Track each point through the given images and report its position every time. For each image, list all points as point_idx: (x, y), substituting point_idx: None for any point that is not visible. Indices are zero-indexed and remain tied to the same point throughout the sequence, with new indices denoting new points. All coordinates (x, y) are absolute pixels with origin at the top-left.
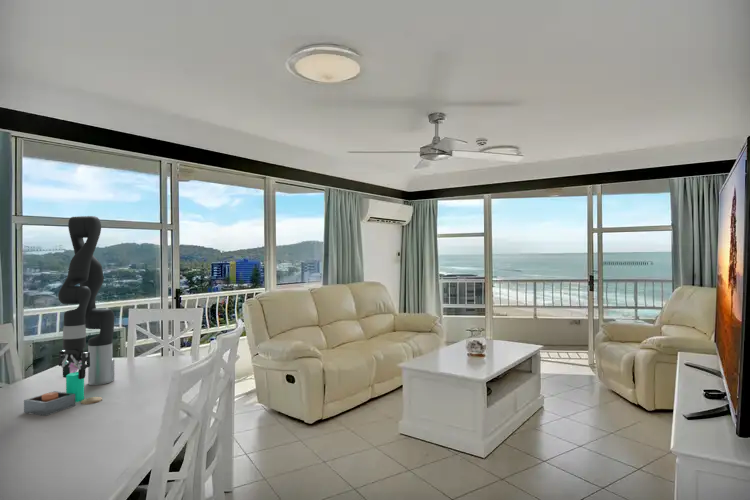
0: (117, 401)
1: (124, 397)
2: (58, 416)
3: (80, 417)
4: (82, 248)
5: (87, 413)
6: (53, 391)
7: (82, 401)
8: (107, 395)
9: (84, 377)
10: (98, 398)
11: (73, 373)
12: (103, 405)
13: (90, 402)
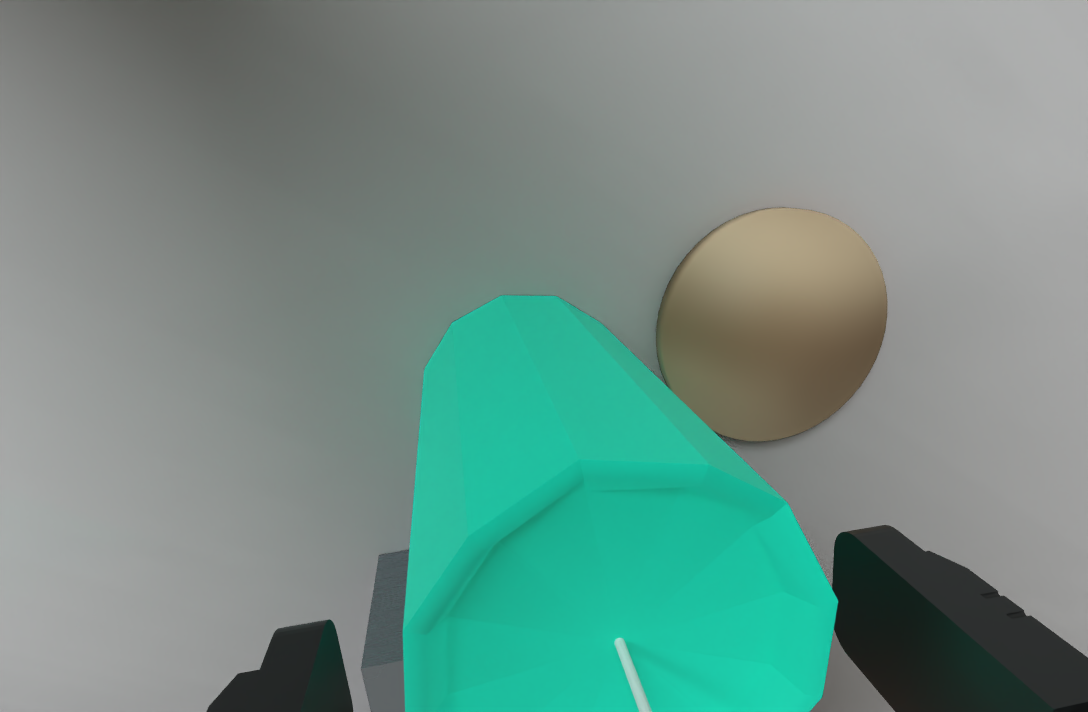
0: (1069, 189)
1: (1049, 31)
2: (848, 697)
3: (1049, 620)
4: None
5: (1033, 547)
6: (367, 684)
7: (726, 418)
8: (751, 63)
9: (885, 534)
10: (816, 259)
11: (442, 621)
12: (1013, 351)
13: (850, 395)
